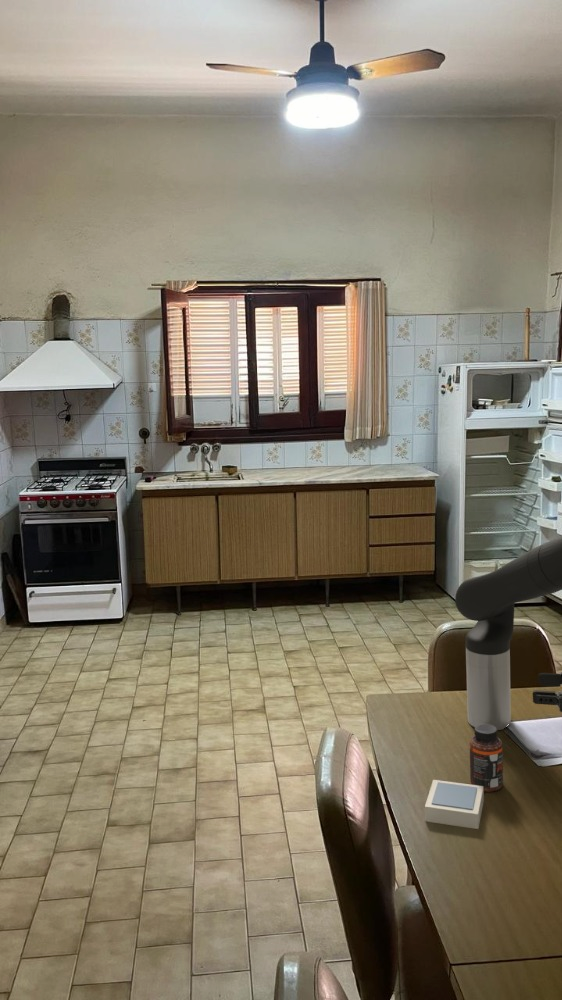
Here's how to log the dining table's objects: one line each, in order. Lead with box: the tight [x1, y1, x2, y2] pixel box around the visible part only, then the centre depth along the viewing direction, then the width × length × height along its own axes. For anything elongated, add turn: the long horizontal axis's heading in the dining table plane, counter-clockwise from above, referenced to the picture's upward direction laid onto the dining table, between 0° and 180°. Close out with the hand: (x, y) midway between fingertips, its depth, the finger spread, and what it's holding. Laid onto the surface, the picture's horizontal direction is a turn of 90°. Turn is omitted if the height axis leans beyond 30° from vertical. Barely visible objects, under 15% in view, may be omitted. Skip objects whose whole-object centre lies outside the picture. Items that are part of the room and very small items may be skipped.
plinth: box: [424, 779, 485, 830], centre depth 133 cm, size 9×9×3 cm
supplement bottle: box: [469, 724, 504, 793], centre depth 140 cm, size 6×6×11 cm
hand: (536, 687), depth 134 cm, fingers open, 8 cm apart
